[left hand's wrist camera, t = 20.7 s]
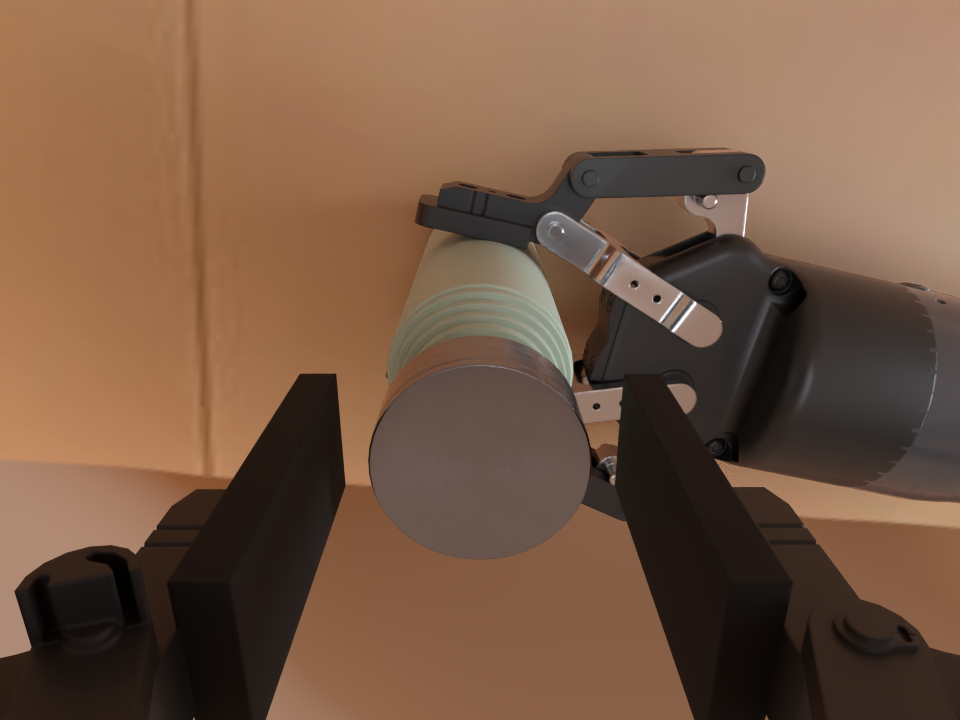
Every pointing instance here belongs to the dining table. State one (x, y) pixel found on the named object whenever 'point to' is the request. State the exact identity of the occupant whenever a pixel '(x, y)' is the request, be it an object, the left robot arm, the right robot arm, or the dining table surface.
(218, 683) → the left robot arm
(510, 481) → the cap
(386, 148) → the dining table surface
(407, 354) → the bottle
